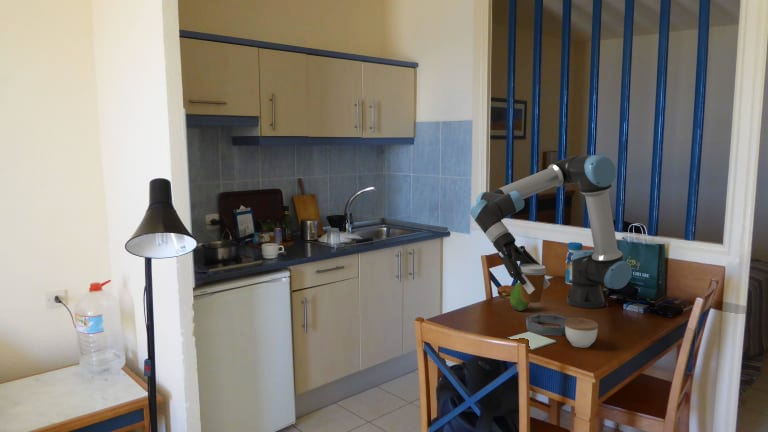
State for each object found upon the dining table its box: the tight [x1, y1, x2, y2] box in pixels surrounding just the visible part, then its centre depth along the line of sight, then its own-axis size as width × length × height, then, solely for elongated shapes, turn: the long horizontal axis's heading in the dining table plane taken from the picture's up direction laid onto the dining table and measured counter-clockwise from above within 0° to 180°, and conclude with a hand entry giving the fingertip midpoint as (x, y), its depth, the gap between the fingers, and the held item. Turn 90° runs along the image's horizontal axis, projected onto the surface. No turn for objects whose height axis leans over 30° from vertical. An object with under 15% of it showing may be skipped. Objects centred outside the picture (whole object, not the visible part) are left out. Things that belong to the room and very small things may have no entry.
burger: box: [497, 284, 515, 300], centre depth 250 cm, size 10×9×5 cm
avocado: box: [509, 281, 530, 312], centre depth 228 cm, size 8×8×12 cm
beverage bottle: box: [564, 241, 583, 286], centre depth 271 cm, size 8×8×20 cm
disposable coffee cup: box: [519, 263, 547, 304], centre depth 190 cm, size 10×10×12 cm
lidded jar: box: [565, 317, 599, 349], centre depth 188 cm, size 11×11×9 cm
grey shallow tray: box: [525, 313, 571, 337], centre depth 205 cm, size 16×16×3 cm
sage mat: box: [508, 331, 557, 350], centre depth 192 cm, size 12×12×1 cm
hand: (539, 289), depth 188 cm, fingers closed on disposable coffee cup, 9 cm apart
